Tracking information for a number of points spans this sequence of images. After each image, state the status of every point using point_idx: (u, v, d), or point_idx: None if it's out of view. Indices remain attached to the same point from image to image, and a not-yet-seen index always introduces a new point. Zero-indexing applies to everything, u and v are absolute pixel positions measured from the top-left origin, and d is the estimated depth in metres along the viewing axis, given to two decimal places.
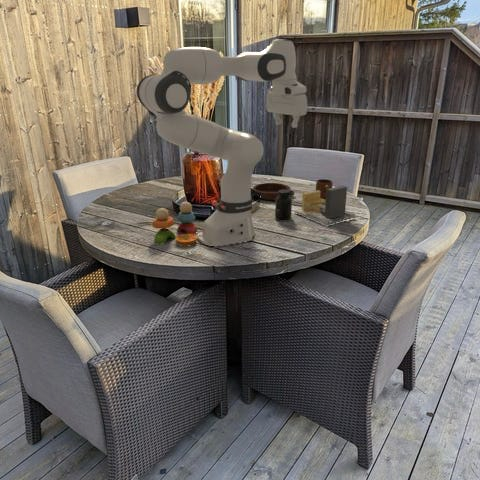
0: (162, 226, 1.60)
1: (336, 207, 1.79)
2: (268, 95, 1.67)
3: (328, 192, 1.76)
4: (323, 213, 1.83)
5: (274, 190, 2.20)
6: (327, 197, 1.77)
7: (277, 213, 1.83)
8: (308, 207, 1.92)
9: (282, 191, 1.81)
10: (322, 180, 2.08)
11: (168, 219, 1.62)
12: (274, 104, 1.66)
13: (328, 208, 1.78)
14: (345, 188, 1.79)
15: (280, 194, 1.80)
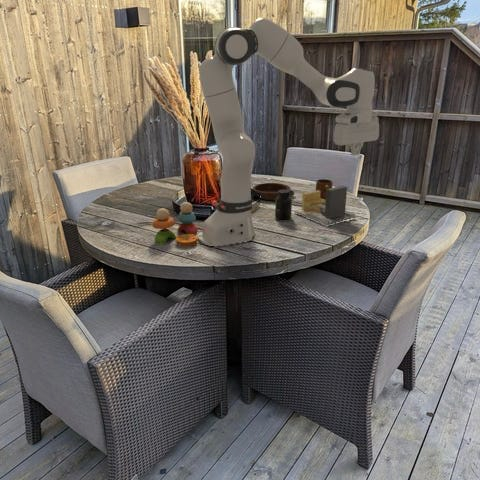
0: (162, 226, 1.59)
1: (336, 207, 1.79)
2: None
3: (328, 192, 1.76)
4: (323, 213, 1.83)
5: (274, 190, 2.20)
6: (327, 197, 1.77)
7: (277, 213, 1.83)
8: (308, 207, 1.92)
9: (282, 191, 1.81)
10: (322, 180, 2.08)
11: (168, 219, 1.62)
12: None
13: (328, 208, 1.78)
14: (345, 188, 1.79)
15: (280, 194, 1.80)
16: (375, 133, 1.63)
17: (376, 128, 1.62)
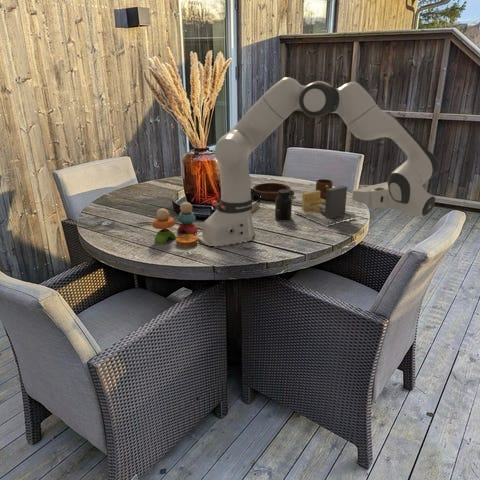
0: (162, 227, 1.59)
1: (336, 207, 1.79)
2: None
3: (328, 192, 1.76)
4: (323, 213, 1.83)
5: (274, 190, 2.20)
6: (327, 197, 1.77)
7: (277, 213, 1.83)
8: (308, 207, 1.92)
9: (282, 191, 1.81)
10: (322, 180, 2.08)
11: (168, 219, 1.61)
12: None
13: (328, 208, 1.78)
14: (345, 188, 1.79)
15: (280, 194, 1.80)
16: None
17: None
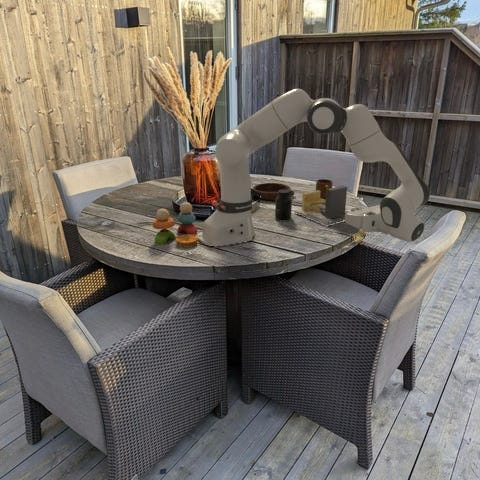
0: (162, 227, 1.59)
1: (336, 207, 1.79)
2: None
3: (328, 192, 1.76)
4: (323, 213, 1.83)
5: (274, 190, 2.20)
6: (327, 197, 1.77)
7: (277, 213, 1.83)
8: (308, 207, 1.92)
9: (282, 191, 1.81)
10: (322, 180, 2.08)
11: (168, 220, 1.61)
12: (378, 208, 1.68)
13: (328, 208, 1.78)
14: (345, 188, 1.79)
15: (280, 194, 1.80)
16: None
17: None
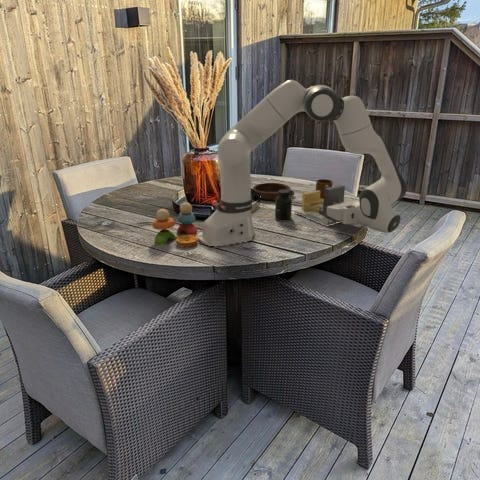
0: (163, 227, 1.58)
1: None
2: None
3: (326, 191, 1.77)
4: (321, 212, 1.84)
5: (274, 190, 2.20)
6: (325, 196, 1.78)
7: (277, 213, 1.83)
8: (308, 207, 1.92)
9: (282, 191, 1.81)
10: (322, 180, 2.08)
11: (168, 220, 1.61)
12: None
13: (326, 207, 1.79)
14: (343, 187, 1.80)
15: (280, 194, 1.80)
16: None
17: None
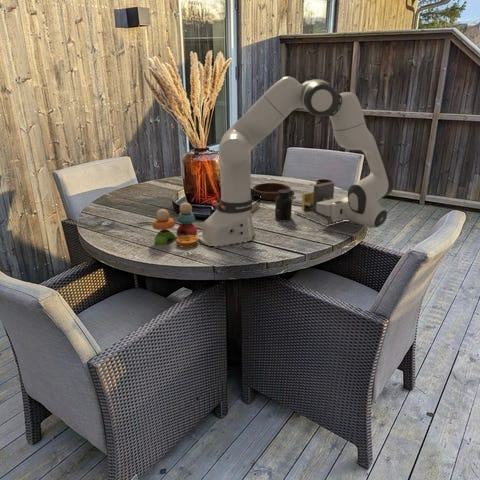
0: (163, 227, 1.58)
1: None
2: None
3: (316, 188, 1.82)
4: (311, 208, 1.89)
5: (274, 190, 2.20)
6: (315, 193, 1.83)
7: (277, 213, 1.83)
8: (308, 207, 1.92)
9: (282, 191, 1.81)
10: (322, 180, 2.08)
11: (169, 220, 1.61)
12: None
13: (316, 203, 1.84)
14: (332, 184, 1.85)
15: (280, 194, 1.80)
16: None
17: None
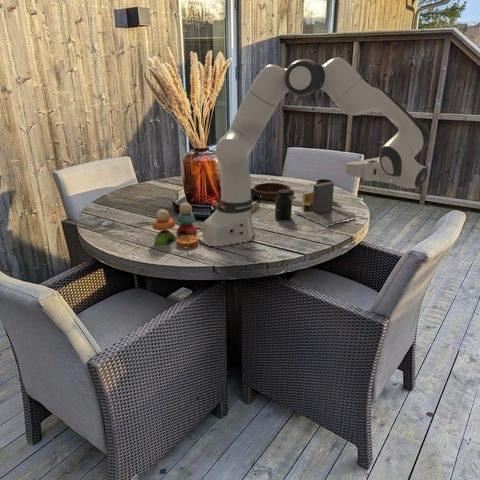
0: (163, 228, 1.58)
1: (323, 202, 1.85)
2: None
3: (315, 188, 1.82)
4: (311, 208, 1.89)
5: (274, 190, 2.20)
6: (315, 193, 1.83)
7: (277, 213, 1.83)
8: (308, 207, 1.92)
9: (282, 191, 1.81)
10: (322, 180, 2.08)
11: (169, 221, 1.60)
12: None
13: (315, 203, 1.84)
14: (332, 184, 1.85)
15: (280, 194, 1.80)
16: None
17: None
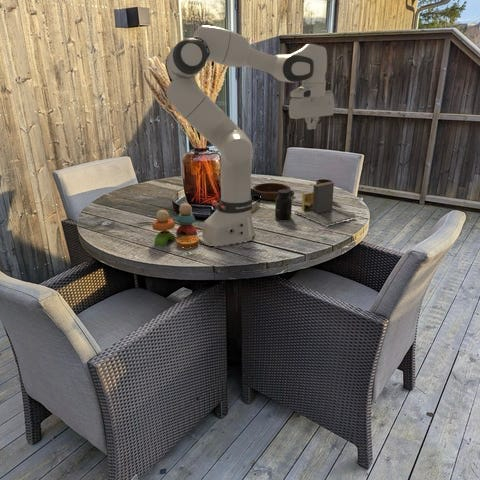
0: (163, 228, 1.57)
1: (323, 202, 1.85)
2: None
3: (315, 188, 1.82)
4: (311, 208, 1.89)
5: (274, 190, 2.20)
6: (315, 193, 1.83)
7: (277, 213, 1.83)
8: (308, 207, 1.92)
9: (282, 191, 1.81)
10: (322, 180, 2.08)
11: (169, 221, 1.60)
12: None
13: (315, 203, 1.84)
14: (332, 184, 1.85)
15: (280, 194, 1.80)
16: (331, 108, 1.70)
17: (331, 103, 1.69)
